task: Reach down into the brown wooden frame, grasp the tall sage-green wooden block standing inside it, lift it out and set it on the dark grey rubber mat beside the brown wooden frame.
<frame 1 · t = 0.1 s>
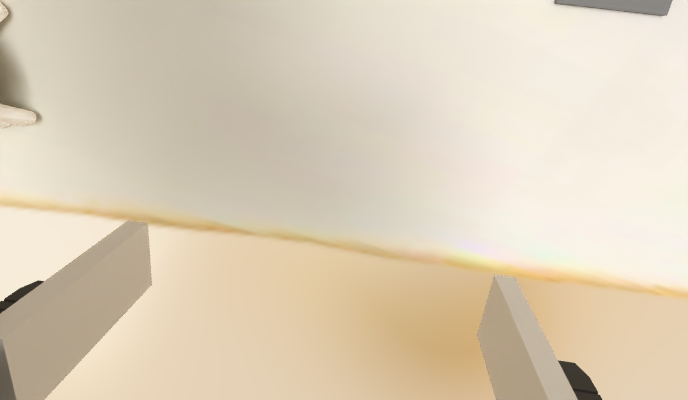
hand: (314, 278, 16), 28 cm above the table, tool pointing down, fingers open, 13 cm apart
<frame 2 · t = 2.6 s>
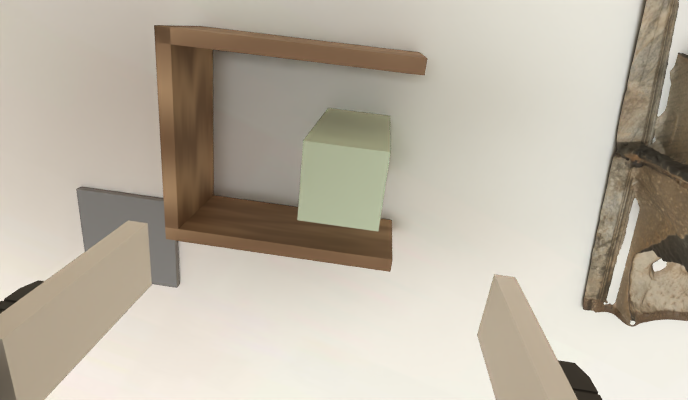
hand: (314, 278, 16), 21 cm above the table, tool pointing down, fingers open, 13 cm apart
brown wooden frame: (301, 135, 36), on the table
block: (355, 142, 35), on the table
mat: (132, 237, 41), on the table
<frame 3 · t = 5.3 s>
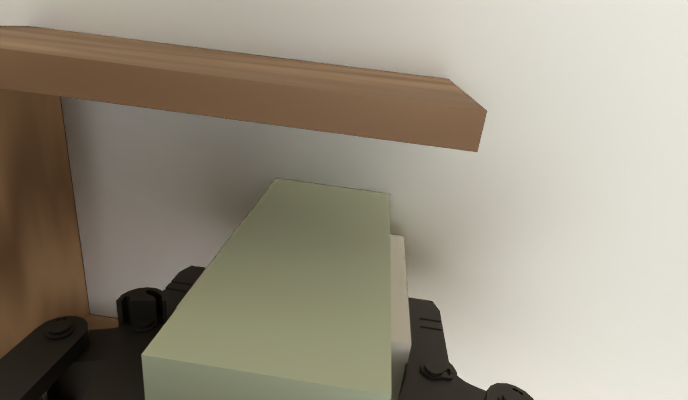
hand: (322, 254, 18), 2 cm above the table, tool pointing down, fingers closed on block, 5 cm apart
brown wooden frame: (230, 223, 20), on the table
block: (327, 237, 20), on the table, touching gripper
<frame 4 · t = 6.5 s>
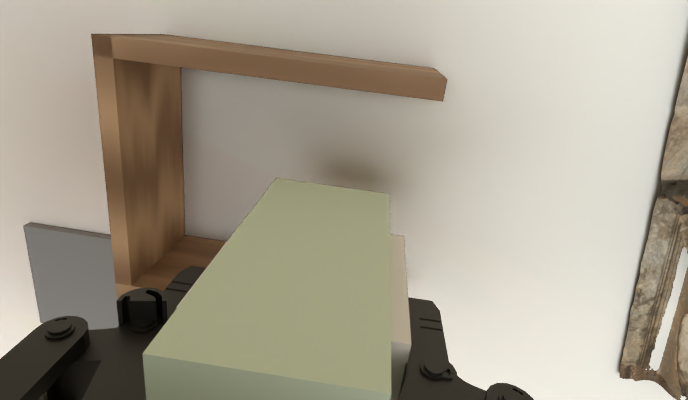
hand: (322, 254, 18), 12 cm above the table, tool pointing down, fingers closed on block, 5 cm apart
brown wooden frame: (288, 166, 29), on the table
block: (327, 236, 20), point 10 cm above the table, touching gripper
mat: (90, 281, 35), on the table
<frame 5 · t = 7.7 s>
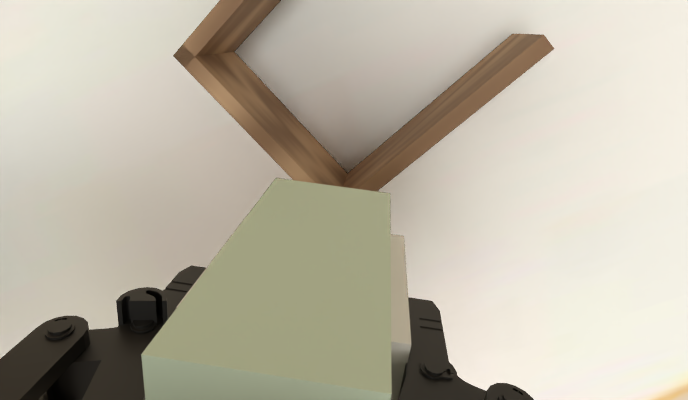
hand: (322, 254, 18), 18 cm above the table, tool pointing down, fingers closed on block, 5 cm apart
brown wooden frame: (362, 48, 32), on the table
block: (327, 236, 20), point 16 cm above the table, touching gripper
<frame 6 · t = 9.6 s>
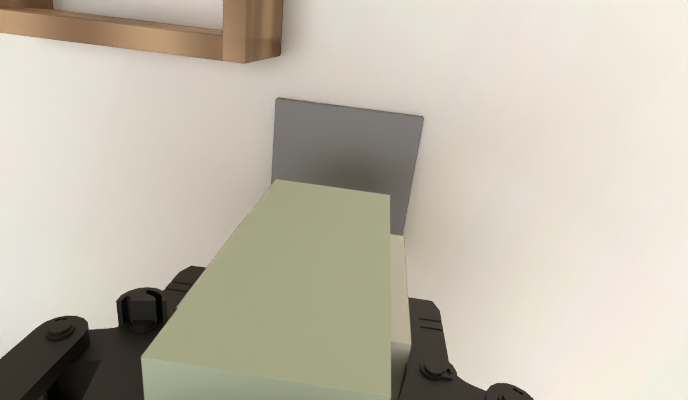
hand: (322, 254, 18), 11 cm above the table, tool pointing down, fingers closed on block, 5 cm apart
block: (327, 238, 20), point 9 cm above the table, touching gripper
mat: (341, 175, 28), on the table
when the fingers open (3 cm above the table, at t = 11.4 s): block drops 1 cm, resting on mat.
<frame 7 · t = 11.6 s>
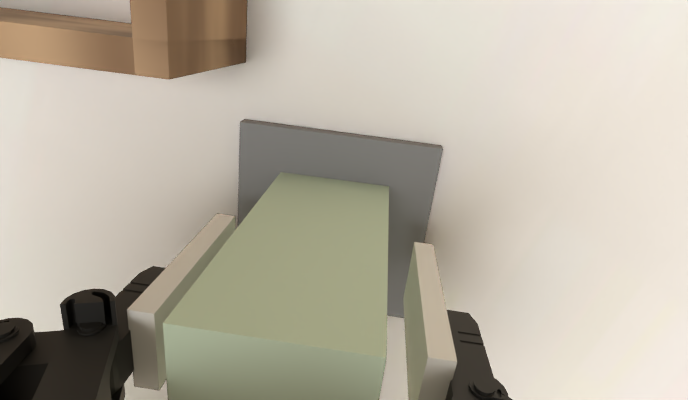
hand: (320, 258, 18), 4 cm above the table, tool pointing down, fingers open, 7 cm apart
block: (329, 228, 21), point 1 cm above the table, touching mat
mat: (331, 222, 21), on the table
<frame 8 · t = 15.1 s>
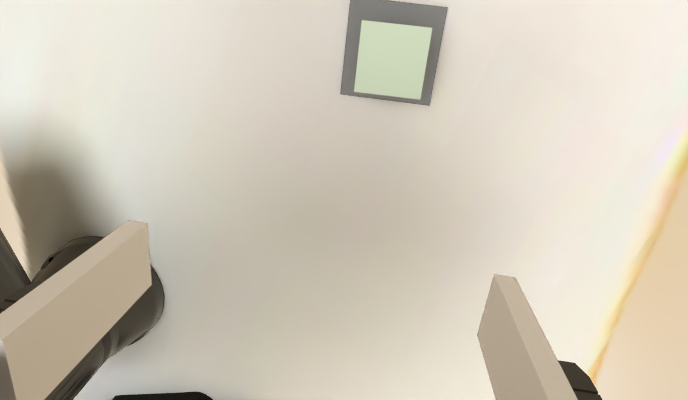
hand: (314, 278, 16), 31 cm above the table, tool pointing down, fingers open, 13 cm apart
block: (391, 53, 41), point 1 cm above the table, touching mat
mat: (391, 52, 42), on the table
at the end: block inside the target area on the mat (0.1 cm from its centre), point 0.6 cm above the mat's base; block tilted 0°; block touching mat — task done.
